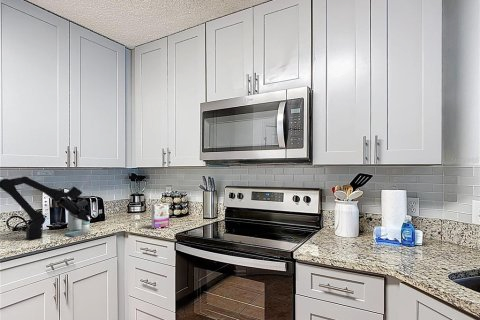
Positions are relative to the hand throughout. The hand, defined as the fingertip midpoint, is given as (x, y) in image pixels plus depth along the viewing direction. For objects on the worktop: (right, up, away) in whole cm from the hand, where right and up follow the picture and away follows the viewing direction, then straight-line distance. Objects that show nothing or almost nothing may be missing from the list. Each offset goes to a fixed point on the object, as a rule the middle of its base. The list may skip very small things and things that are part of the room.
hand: (88, 220), depth 178 cm
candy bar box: (+44, -7, +10) cm, 46 cm away
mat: (-1, -6, -12) cm, 13 cm away
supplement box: (-11, -7, +5) cm, 14 cm away
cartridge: (-1, -7, -1) cm, 7 cm away
